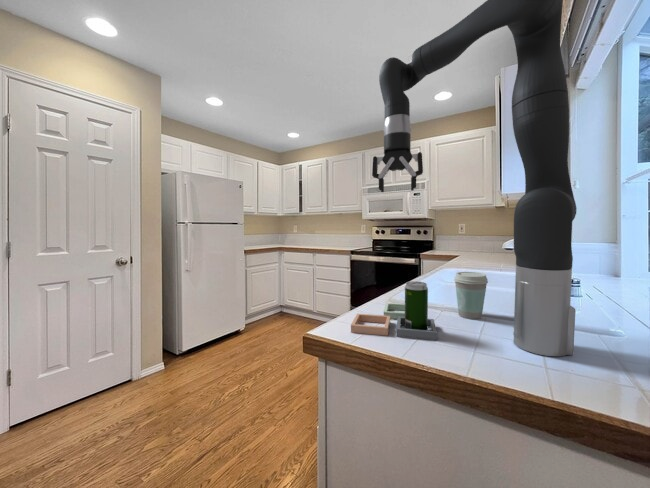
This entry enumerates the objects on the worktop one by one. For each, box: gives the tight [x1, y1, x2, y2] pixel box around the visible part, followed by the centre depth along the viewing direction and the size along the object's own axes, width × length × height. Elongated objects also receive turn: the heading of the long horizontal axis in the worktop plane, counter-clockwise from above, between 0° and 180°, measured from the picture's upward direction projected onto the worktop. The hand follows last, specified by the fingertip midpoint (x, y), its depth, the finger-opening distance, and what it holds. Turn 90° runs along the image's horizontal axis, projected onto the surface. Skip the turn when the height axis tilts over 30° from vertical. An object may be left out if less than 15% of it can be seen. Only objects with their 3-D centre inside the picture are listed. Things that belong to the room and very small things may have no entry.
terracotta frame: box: [350, 313, 391, 336], centre depth 73 cm, size 9×9×2 cm
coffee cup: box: [453, 271, 489, 320], centre depth 79 cm, size 8×9×12 cm
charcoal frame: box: [395, 317, 438, 341], centre depth 70 cm, size 9×9×2 cm
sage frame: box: [383, 302, 405, 320], centre depth 82 cm, size 9×9×2 cm
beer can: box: [404, 281, 429, 331], centre depth 69 cm, size 5×5×12 cm
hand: (397, 191), depth 82 cm, fingers open, 8 cm apart
